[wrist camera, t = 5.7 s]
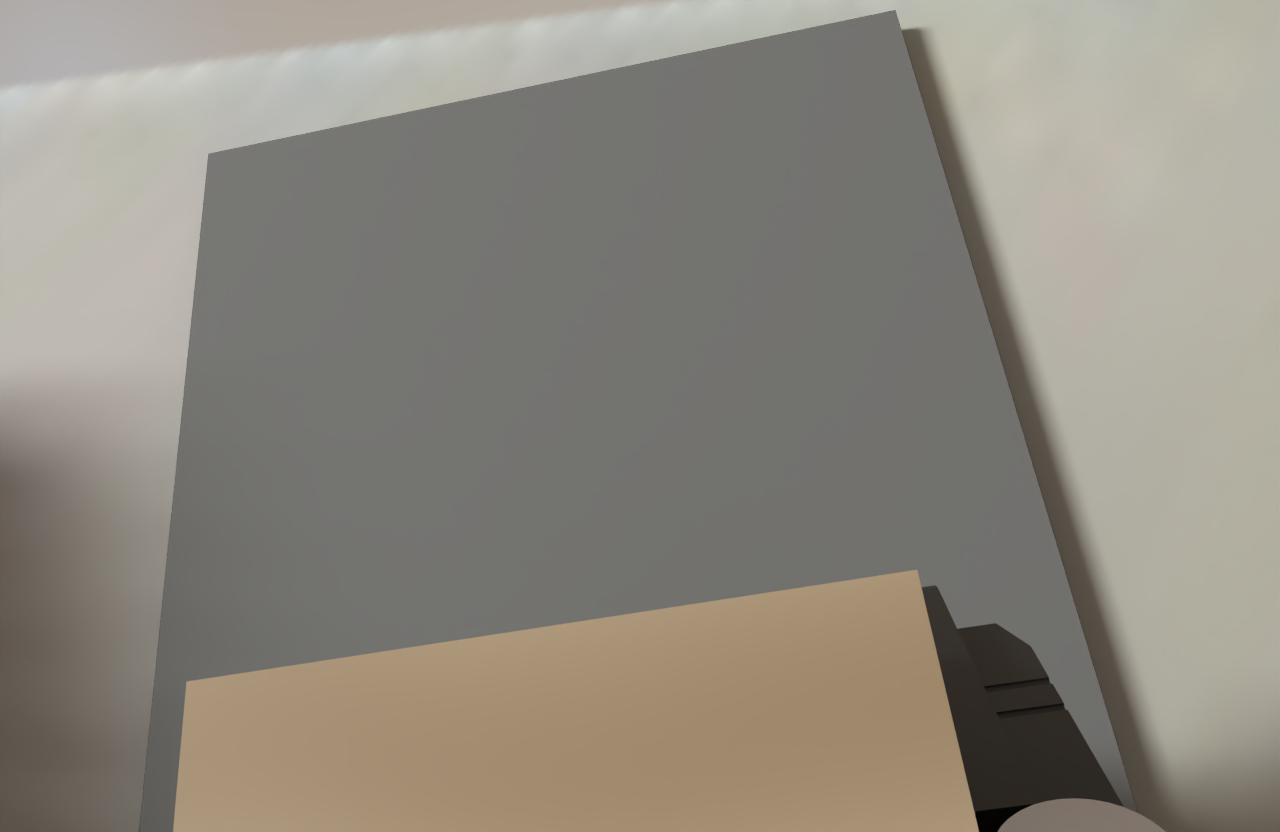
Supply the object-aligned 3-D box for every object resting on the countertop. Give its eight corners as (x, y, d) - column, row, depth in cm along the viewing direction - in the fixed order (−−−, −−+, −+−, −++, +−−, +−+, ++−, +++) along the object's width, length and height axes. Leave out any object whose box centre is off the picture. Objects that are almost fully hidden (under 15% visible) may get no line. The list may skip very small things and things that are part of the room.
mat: (48, 1976, 12) (16, 2017, 11) (220, 168, 23) (208, 154, 23) (1467, 1954, 10) (1497, 2003, 10) (894, 28, 22) (895, 9, 21)
